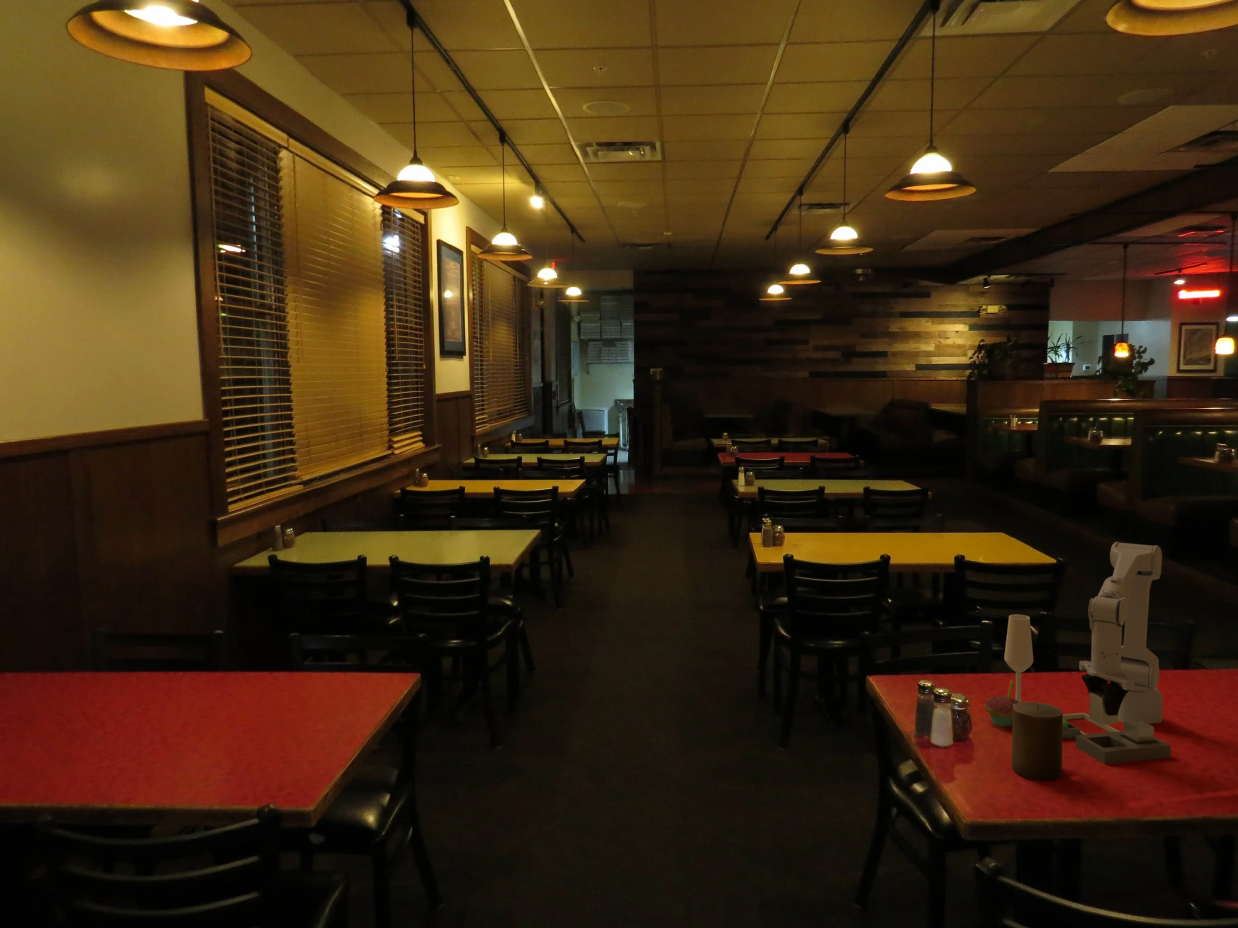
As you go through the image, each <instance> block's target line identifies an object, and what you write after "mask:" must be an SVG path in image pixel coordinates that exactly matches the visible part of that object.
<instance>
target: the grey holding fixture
mask: <svg viewBox="0 0 1238 928" xmlns="http://www.w3.org/2000/svg"><path fill="white" fill-rule="evenodd" d="M1086 734H1087V735H1076V738H1075V748H1076V749H1078V750H1079V751H1081V752H1083V753H1085V754H1087V755H1088V756H1089V757H1092V758H1093V759H1095V760H1096V761H1098V762H1100V763H1101V764H1103V765H1109V764H1110V765H1111V764H1119V763H1128V762H1138V761H1139V762H1140V761H1149V760H1158V759H1168V758H1171V745H1170V744H1168V743H1167V742H1165V741H1163V740H1161V739H1159V738H1158V737H1155V736H1154V742H1153V743H1150V744H1140V745H1136V744H1134V743H1133V742H1131V741H1129V740H1127V739H1125V738H1124V730H1118V732H1109V731H1107V732H1098V733H1089V734H1088V733H1086Z"/></svg>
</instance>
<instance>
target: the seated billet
mask: <svg viewBox="0 0 1238 928" xmlns="http://www.w3.org/2000/svg"><path fill="white" fill-rule="evenodd" d="M1123 731H1124V738H1125V739H1127V740H1129V741H1131V742H1133V743H1134V744H1136V745H1140V744H1150V743H1153V742H1154V737H1155V736H1154V735H1155V726H1152V725H1151V724H1147V723H1145V722H1143V721H1141V720H1137V721H1127V722H1124V723H1123Z"/></svg>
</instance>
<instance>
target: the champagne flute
mask: <svg viewBox="0 0 1238 928" xmlns="http://www.w3.org/2000/svg"><path fill="white" fill-rule="evenodd" d="M1006 632H1007V633H1006V639H1005V649H1004V650H1005V651H1004V658H1003V659H1004V661H1005V663H1006V665H1007V666H1008V667H1009V668H1010V669H1011V670H1013V671H1014V672H1015V700H1017V701H1018V702H1019V703H1021V702H1022V701H1021V700H1022V699H1021V698H1022V696H1021V695H1022V691H1021V690H1022V673H1024V672H1025V671H1026V670H1027V669H1029V668H1030V667H1031V666H1032V664H1033V663H1034V653H1033V642H1032V629H1031V618H1030V616H1029V615H1024V614H1010V615H1009V616H1008V622H1007V631H1006Z"/></svg>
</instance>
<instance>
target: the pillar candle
mask: <svg viewBox="0 0 1238 928" xmlns="http://www.w3.org/2000/svg"><path fill="white" fill-rule="evenodd" d="M1063 715H1064V713H1063V711H1062V709H1060V708H1059V707H1056V706H1054V705H1051V704H1049V703H1042V702H1034V701H1023V702H1022V701H1021V703H1017V704H1013V726H1012V734H1011V735H1012V736H1011V738H1012V739H1011V742H1012V743H1011V768H1012V770H1013V771H1014V772H1015V773H1016V774H1018V775H1021V776H1022V777H1023V778H1027V779H1031V780H1035V781H1040V782H1041V781H1042V782H1043V781H1044V782H1045V781H1047V782H1049V781H1050V782H1051V781H1053V782H1054V781H1057V780H1059V779H1060V778H1061V777H1062V776H1063V772H1062V770H1063V739H1062V725H1063Z"/></svg>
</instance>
